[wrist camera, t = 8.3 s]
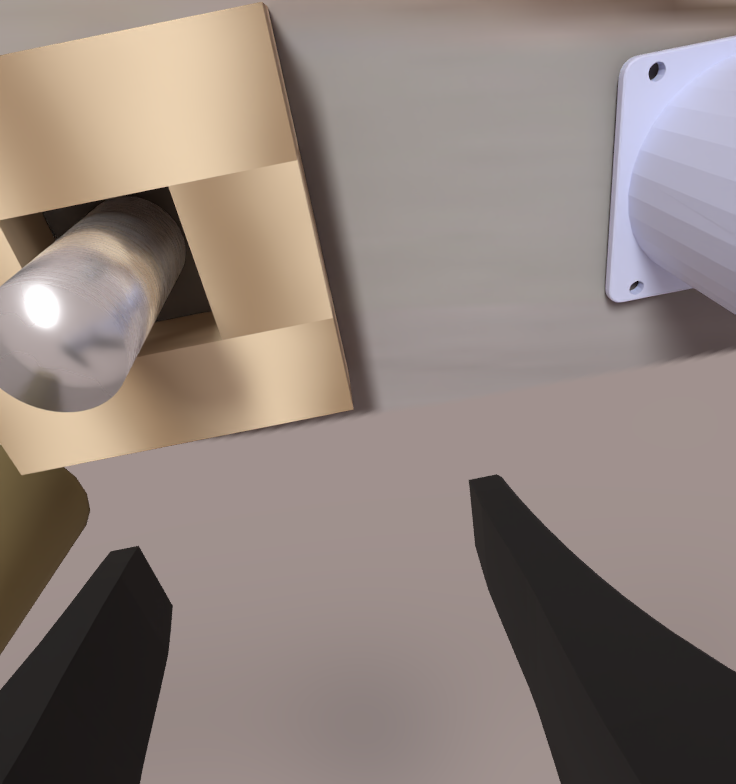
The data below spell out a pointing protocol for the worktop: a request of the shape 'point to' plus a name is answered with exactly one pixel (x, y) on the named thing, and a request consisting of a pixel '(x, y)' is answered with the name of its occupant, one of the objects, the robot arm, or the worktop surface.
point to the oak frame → (199, 221)
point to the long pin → (88, 306)
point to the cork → (34, 535)
